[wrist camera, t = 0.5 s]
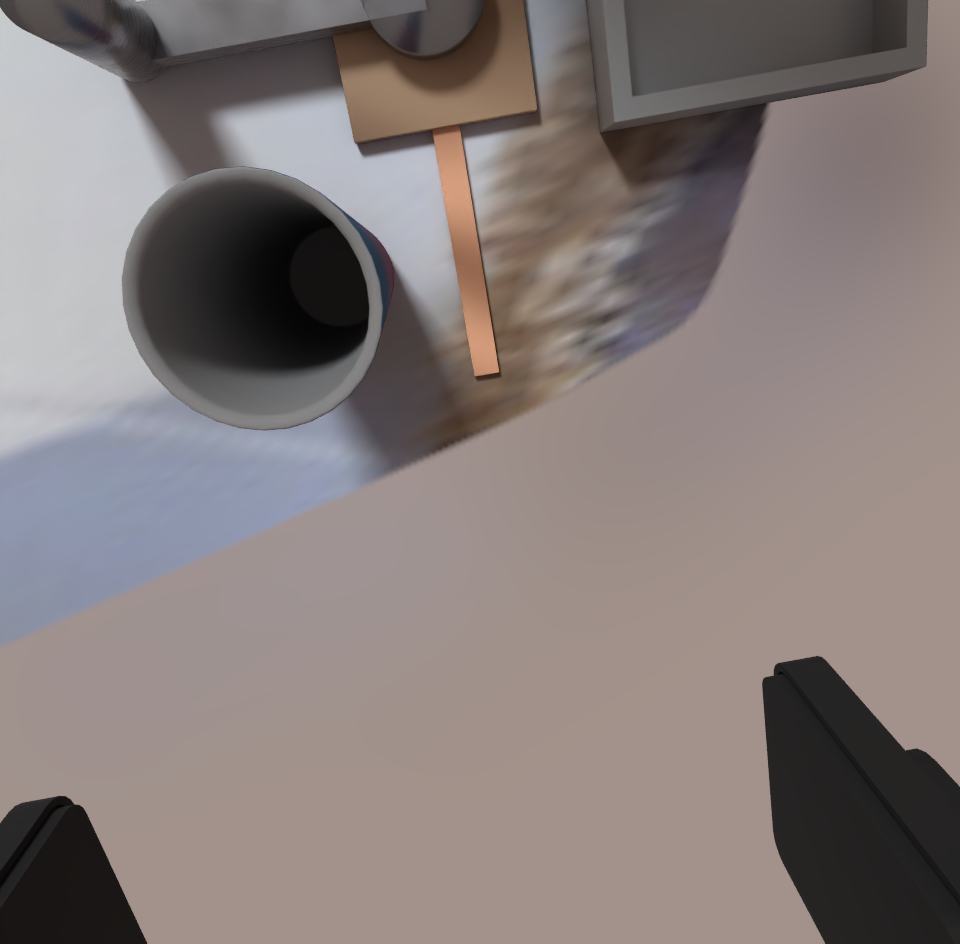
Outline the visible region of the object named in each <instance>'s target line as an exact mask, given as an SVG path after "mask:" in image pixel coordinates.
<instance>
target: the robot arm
mask: <svg viewBox="0 0 960 944" xmlns="http://www.w3.org/2000/svg"><path fill="white" fill-rule="evenodd" d="M762 687H763V701H764V714H765V727H766V741H767V754H768V768H769V781H770V795H771V808H772V821H773V832H774V838H775V842H776V846H777V849H778V852H779V855H780V857H781V860H782V862H783V864H784V866H785V867H786V870H787V871H788V873H789V875H790V877H791V879H792V881H793V883H794V885H795V887H796V888H797V891H798V892H799V894H800V896H801V898H802V900H803V902H804V904H805V906H806V908H807V909H808V911H809V913H810V915H811V917H812V919H813V921H814V923H815V925H816V927H817V928H818V930H819V932H820V934H821V936H822V938H823V940H824V941H825V944H960V787H959V786H958V784H957V783H956V782H955V781H954V780H953V779H952V778H951V777H950V776H949V775H948V774H947V773H946V771H945V770H944V769H943V768H942V767H941V766H940V765H939V764H938V763H937V762H936V761H935V760H934V759H933V758H932V757H931V756H930V755H928V754H927V753H926V752H924V751H922V750H919V749H912V750H906V751H905V750H904V749H903V748H902V746H901V745H900V744H899V743H898V742H897V741H896V740H895V738H894V737H893V736H892V735H891V734H890V733H889V732H888V730H887V729H886V728H885V727H884V726H883V725H882V724H881V722H880V721H879V720H878V719H877V718H876V717H875V716H874V715H873V713H871V711H870V710H869V709H868V708H867V707H866V706H865V704H864V703H863V702H862V701H861V700H860V699H859V698H858V696H857V695H856V694H855V693H854V692H853V691H852V690H851V689H850V687H849V686H848V685H847V684H846V683H845V682H844V680H842V678H841V677H840V676H839V675H838V674H837V673H836V671H835V670H834V669H833V668H832V667H831V666H830V665H829V664H828V663H827V661H826V660H825V659H823V658H822V657H819V656H816V657H810V658H804V659H799V660H794V661H788V662H783V663H778V664H776V665H775V668H774V676H770V677H765V678H764V679H763V683H762ZM0 944H147V942H146V940H145V938H144V935H143V933H142V932H141V929H140V927H139V925H138V923H137V920H136V918H135V916H134V914H133V912H132V910H131V908H130V906H129V904H128V901H127V899H126V897H125V895H124V893H123V891H122V888H121V886H120V884H119V882H118V880H117V878H116V875H115V873H114V871H113V869H112V867H111V865H110V863H109V860H108V858H107V856H106V854H105V852H104V850H103V848H102V845H101V843H100V841H99V839H98V837H97V835H96V833H95V831H94V828H93V826H92V824H91V822H90V820H89V818H88V815H87V814H86V812H85V810H84V808H83V807H81V806H80V805H74V803H73V802H72V801H71V800H70V799H69V798H67V797H66V796H57V797H52V798H47V799H41V800H36V801H30V802H25V803H21V804H19V805H16V806H15V807H14V808H13V809H12V810H11V811H10V812H9V813H8V814H7V815H6V817H5V818H4V819H3V820H2V822H1V823H0Z"/></svg>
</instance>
